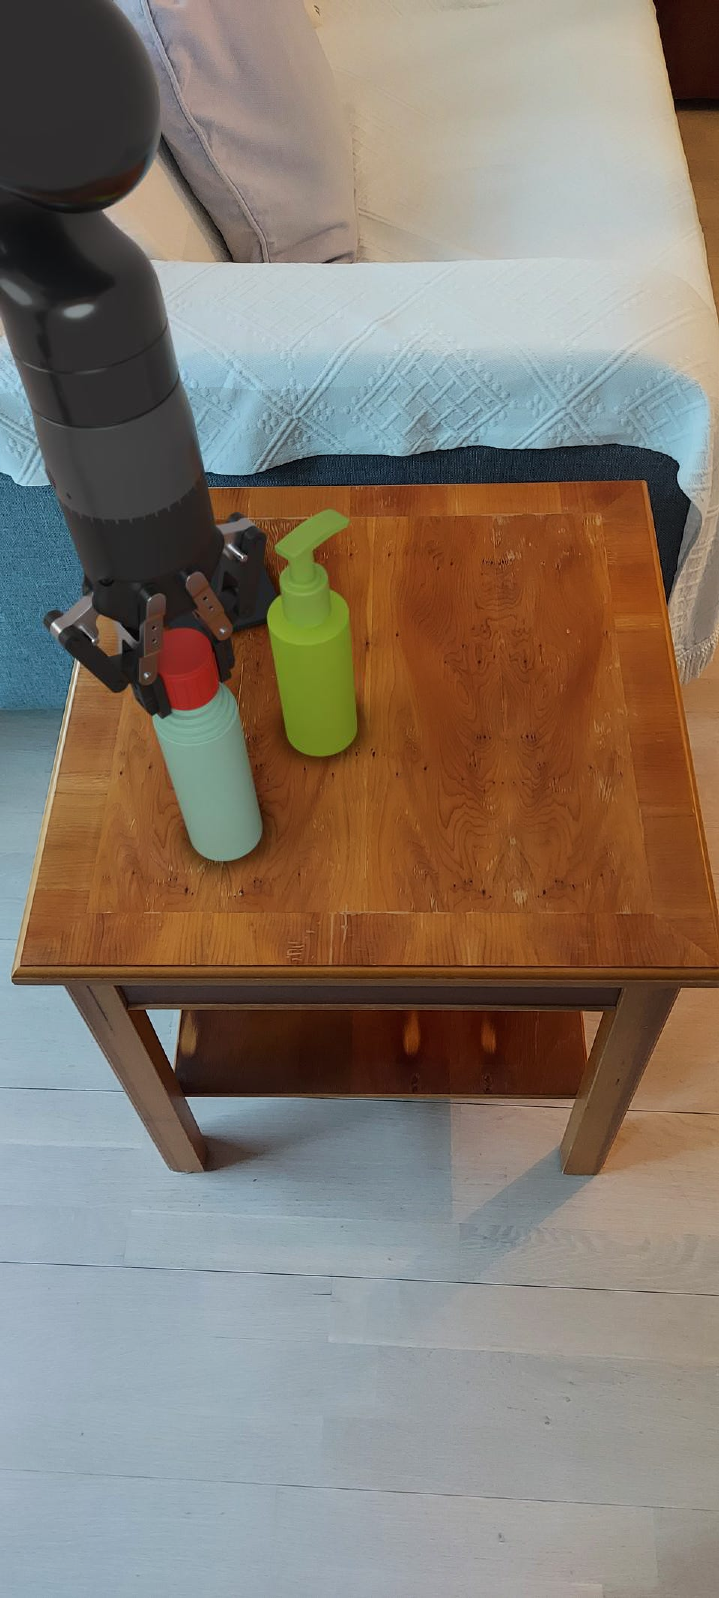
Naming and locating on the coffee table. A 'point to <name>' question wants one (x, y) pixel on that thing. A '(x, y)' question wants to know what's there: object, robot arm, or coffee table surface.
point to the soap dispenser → (313, 644)
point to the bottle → (212, 776)
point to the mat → (259, 616)
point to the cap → (188, 669)
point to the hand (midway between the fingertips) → (189, 689)
